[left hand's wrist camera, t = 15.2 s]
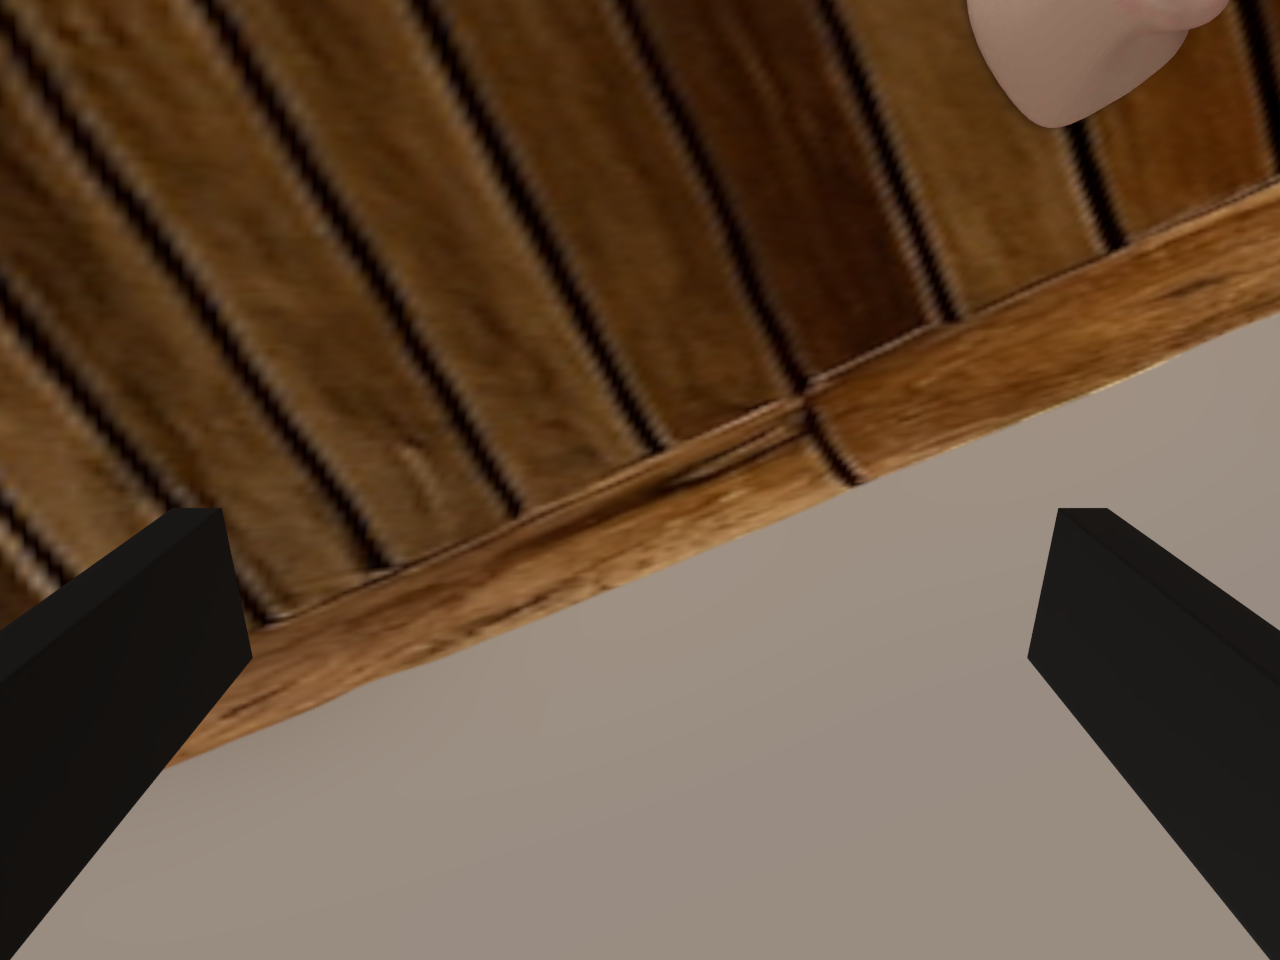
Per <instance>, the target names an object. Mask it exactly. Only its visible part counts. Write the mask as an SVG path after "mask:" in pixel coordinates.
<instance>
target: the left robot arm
mask: <svg viewBox="0 0 1280 960" xmlns="http://www.w3.org/2000/svg"><path fill="white" fill-rule="evenodd" d="M252 658H253V657H252V652H251V647H250V643H249V638H248V633H247V628H246V623H245V618H244V614H243V609H242V604H241V599H240V594H239V589H238V585H237V580H236V575H235V570H234V565H233V561H232V556H231V551H230V546H229V541H228V536H227V532H226V527H225V522H224V517H223V512H222V508H172V509H171V510H169V511H168V512H167V513H165V514H164V515H162V516H161V517H160V518H158V519H157V520H155V521H154V522H153V523H151V524H150V525H148V526H147V527H146V528H144V529H143V530H141V531H140V532H139V533H137V534H136V535H134V536H133V537H131V538H130V539H129V540H127V541H126V542H124V543H123V544H122V545H120V546H119V547H117V548H116V549H115V550H113V551H112V552H110V553H109V554H108V555H106V556H105V557H103V558H102V559H101V560H99V561H98V562H96V563H95V564H94V565H92V566H91V567H89V568H88V569H86V570H85V571H84V572H82V573H81V574H79V575H78V576H77V577H75V578H74V579H72V580H71V581H70V582H68V583H67V584H65V585H64V586H63V587H61V588H60V589H58V590H57V591H56V592H54V593H53V594H51V595H50V596H48V597H47V598H46V599H44V600H43V601H41V602H40V603H39V604H37V605H36V606H34V607H33V608H32V609H30V610H29V611H27V612H26V613H25V614H23V615H22V616H20V617H19V618H18V619H16V620H15V621H13V622H12V623H11V624H9V625H8V626H6V627H5V628H3V629H2V630H1V631H0V960H10V959H11V958H12V957H13V955H14V954H15V953H16V952H17V950H18V949H19V948H20V947H21V945H22V944H23V943H24V942H25V940H26V939H27V938H28V937H29V935H30V934H31V933H32V932H33V931H34V929H35V928H36V927H37V926H38V924H39V923H40V922H41V921H42V919H43V918H44V917H45V916H46V914H47V913H48V912H49V911H50V909H51V908H52V907H53V906H54V904H55V903H56V902H57V901H58V899H59V898H60V897H61V896H62V894H63V893H64V892H65V891H66V889H67V888H68V887H69V886H70V885H71V883H72V882H73V881H74V880H75V878H76V877H77V876H78V875H79V873H80V872H81V871H82V870H83V868H84V867H85V866H86V865H87V863H88V862H89V861H90V860H91V858H92V857H93V856H94V855H95V853H96V852H97V851H98V850H99V848H100V847H101V846H102V845H103V843H104V842H105V841H106V840H107V838H108V837H109V836H110V835H111V833H112V832H113V831H114V830H115V828H116V827H117V826H118V825H119V824H120V822H121V821H122V820H123V819H124V817H125V816H126V815H127V814H128V812H129V811H130V810H131V809H132V807H133V806H134V805H135V804H136V802H137V801H138V800H139V799H140V797H141V796H142V795H143V794H144V792H145V791H146V790H147V789H148V787H149V786H150V785H151V784H152V783H153V781H154V780H155V779H156V777H157V776H158V775H159V774H160V773H161V771H162V770H163V769H164V768H165V766H166V765H167V764H168V763H169V761H170V760H171V759H172V758H173V756H174V755H175V754H176V753H177V751H178V750H179V749H180V748H181V746H182V745H183V744H184V743H185V741H186V740H187V739H188V738H189V736H190V735H191V734H192V733H193V732H194V730H195V729H196V728H197V727H198V725H199V724H200V723H201V722H202V720H203V719H204V718H205V717H206V715H207V714H208V713H209V712H210V710H211V709H212V708H213V707H214V705H215V704H216V703H217V702H218V700H219V699H220V698H221V697H222V695H223V694H224V693H225V692H226V690H227V689H228V688H229V687H230V685H231V684H232V683H233V682H234V680H235V679H236V678H237V677H238V676H239V674H240V673H241V672H242V671H243V669H244V668H245V667H246V666H247V664H248V663H249V662H250V661H251V659H252ZM1027 658H1028V659H1029V661H1030V662H1031V663H1032V664H1033V666H1034V667H1035V668H1036V669H1037V670H1038V672H1039V673H1040V674H1041V675H1042V677H1043V678H1044V679H1045V680H1046V682H1047V683H1048V684H1049V685H1050V687H1051V688H1052V689H1053V690H1054V692H1055V693H1056V694H1057V695H1058V697H1059V698H1060V699H1061V700H1062V702H1063V703H1064V704H1065V705H1066V707H1067V708H1068V709H1069V710H1070V712H1071V713H1072V714H1073V715H1074V717H1075V718H1076V719H1077V720H1078V722H1079V723H1080V724H1081V725H1082V727H1083V728H1084V729H1085V730H1086V731H1087V733H1088V734H1089V735H1090V736H1091V738H1092V739H1093V740H1094V741H1095V743H1096V744H1097V745H1098V746H1099V748H1100V749H1101V750H1102V751H1103V753H1104V754H1105V755H1106V756H1107V758H1108V759H1109V760H1110V761H1111V763H1112V764H1113V765H1114V766H1115V768H1116V769H1117V770H1118V771H1119V773H1120V774H1121V775H1122V776H1123V778H1124V779H1125V780H1126V781H1127V783H1128V784H1129V785H1130V786H1131V787H1132V789H1133V790H1134V791H1135V792H1136V794H1137V795H1138V796H1139V797H1140V799H1141V800H1142V801H1143V802H1144V804H1145V805H1146V806H1147V807H1148V809H1149V810H1150V811H1151V812H1152V814H1153V815H1154V816H1155V817H1156V819H1157V820H1158V821H1159V822H1160V824H1161V825H1162V826H1163V827H1164V829H1165V830H1166V831H1167V832H1168V834H1169V835H1170V836H1171V837H1172V838H1173V840H1174V841H1175V842H1176V843H1177V845H1178V846H1179V847H1180V848H1181V850H1182V851H1183V852H1184V853H1185V855H1186V856H1187V857H1188V858H1189V860H1190V861H1191V862H1192V863H1193V865H1194V866H1195V867H1196V868H1197V870H1198V871H1199V872H1200V873H1201V875H1202V876H1203V877H1204V878H1205V880H1206V881H1207V882H1208V883H1209V884H1210V886H1211V887H1212V888H1213V889H1214V891H1215V892H1216V893H1217V894H1218V896H1219V897H1220V898H1221V899H1222V901H1223V902H1224V903H1225V904H1226V906H1227V907H1228V908H1229V909H1230V911H1231V912H1232V913H1233V914H1234V916H1235V917H1236V918H1237V919H1238V921H1239V922H1240V923H1241V924H1242V925H1243V927H1244V928H1245V929H1246V931H1247V932H1248V933H1249V934H1250V936H1251V937H1252V938H1253V939H1254V941H1255V942H1256V943H1257V944H1258V945H1259V947H1260V948H1261V949H1262V950H1263V952H1264V953H1265V954H1266V955H1267V957H1268V958H1269V959H1270V960H1280V631H1279V630H1278V629H1276V628H1275V627H1274V626H1272V625H1271V624H1269V623H1268V622H1267V621H1265V620H1264V619H1262V618H1261V617H1260V616H1258V615H1257V614H1255V613H1254V612H1253V611H1251V610H1250V609H1248V608H1247V607H1246V606H1244V605H1243V604H1241V603H1240V602H1238V601H1237V600H1236V599H1234V598H1233V597H1232V596H1230V595H1229V594H1227V593H1226V592H1224V591H1223V590H1222V589H1220V588H1219V587H1217V586H1216V585H1215V584H1213V583H1212V582H1210V581H1209V580H1208V579H1206V578H1205V577H1203V576H1202V575H1201V574H1199V573H1198V572H1196V571H1195V570H1193V569H1192V568H1191V567H1189V566H1188V565H1186V564H1185V563H1184V562H1182V561H1181V560H1179V559H1178V558H1177V557H1175V556H1174V555H1172V554H1171V553H1170V552H1168V551H1167V550H1165V549H1164V548H1163V547H1161V546H1160V545H1158V544H1157V543H1156V542H1154V541H1153V540H1151V539H1150V538H1148V537H1147V536H1146V535H1144V534H1143V533H1141V532H1140V531H1139V530H1137V529H1136V528H1134V527H1133V526H1132V525H1130V524H1129V523H1127V522H1126V521H1125V520H1123V519H1122V518H1120V517H1119V516H1118V515H1116V514H1115V513H1113V512H1112V511H1111V510H1109V509H1108V508H1058V513H1057V517H1056V522H1055V527H1054V532H1053V536H1052V541H1051V546H1050V551H1049V556H1048V561H1047V565H1046V570H1045V575H1044V580H1043V585H1042V589H1041V594H1040V599H1039V604H1038V609H1037V614H1036V618H1035V623H1034V628H1033V633H1032V638H1031V643H1030V647H1029V652H1028V657H1027Z"/></svg>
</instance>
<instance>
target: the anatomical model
mask: <svg viewBox="0 0 1280 960" xmlns="http://www.w3.org/2000/svg"><path fill="white" fill-rule="evenodd" d="M1228 2H1229V0H967V7H968V14H969V18H970V23H971V27H972V29H973V32H974V35H975V38H976V41H977V44H978V46H979V48H980V51H981V53H982V55H983V57H984V59H985V61H986V63H987V65H988V66H989V68H990V70H991V71H992V73H993V75H994V76H995V78H996V80H997V81H998V83H999V84H1000V86H1001V87H1002V88H1003V90H1004V91H1005V93H1006V94H1007V95H1008V97H1009V98H1010V100H1011V101H1012V102H1013V103H1014V104H1015V105H1016V107H1017V108H1018V109H1019V110H1020V111H1021V112H1022V113H1023V114H1024V115H1025V116H1026V117H1027V118H1028V119H1030V120H1031V121H1033V122H1034V123H1036V124H1037V125H1040V126H1043V127H1047V128H1057V127H1062V126H1066V125H1069V124H1072V123H1074V122H1076V121H1079V120H1081V119H1083V118H1085V117H1088V116H1089V115H1091V114H1093V113H1095V112H1096V111H1098V110H1100V109H1102V108H1103V107H1105V106H1107V105H1109V104H1110V103H1112V102H1114V101H1116V100H1117V99H1119V98H1121V97H1122V96H1124V95H1125V94H1127V93H1129V92H1130V91H1132V90H1133V89H1134V88H1136V87H1137V86H1138V85H1140V84H1141V83H1142V82H1144V81H1145V80H1146V79H1147V78H1149V77H1150V76H1151V75H1153V74H1154V73H1155V72H1156V71H1158V70H1159V69H1160V68H1161V67H1162V66H1163V65H1165V64H1166V63H1167V62H1168V61H1169V60H1170V59H1171V58H1172V57H1173V56H1174V55H1175V53H1176V52H1177V51H1178V49H1179V48H1180V47H1181V45H1182V43H1183V42H1184V40H1185V38H1186V36H1187V34H1188V32H1189V29H1192V28H1196V27H1199V26H1201V25H1204V24H1206V23H1208V22H1209V21H1211V20H1212V19H1214V18H1215V17H1216V16H1218V15H1219V14H1220V13H1221V12H1222V10H1223V9H1224V8H1225V7H1226V5H1227V3H1228Z"/></svg>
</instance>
